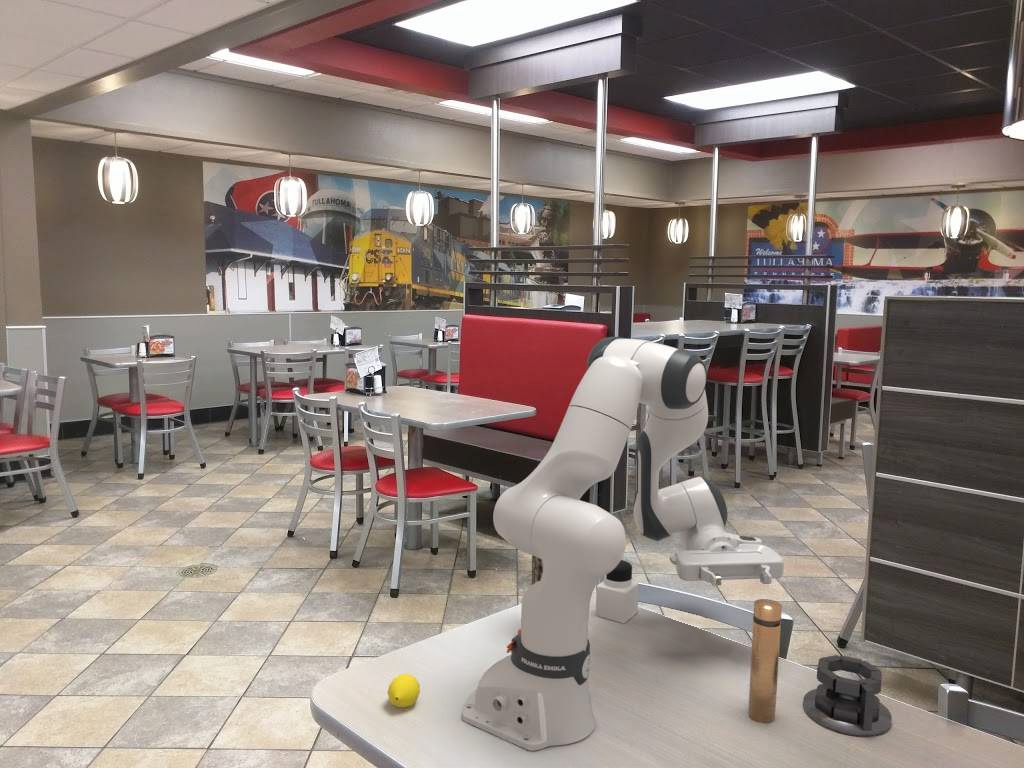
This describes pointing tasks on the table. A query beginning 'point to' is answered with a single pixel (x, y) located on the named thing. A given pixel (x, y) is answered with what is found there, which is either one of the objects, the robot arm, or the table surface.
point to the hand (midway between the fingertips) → (742, 580)
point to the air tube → (764, 660)
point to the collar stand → (848, 698)
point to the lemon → (404, 690)
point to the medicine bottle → (617, 594)
